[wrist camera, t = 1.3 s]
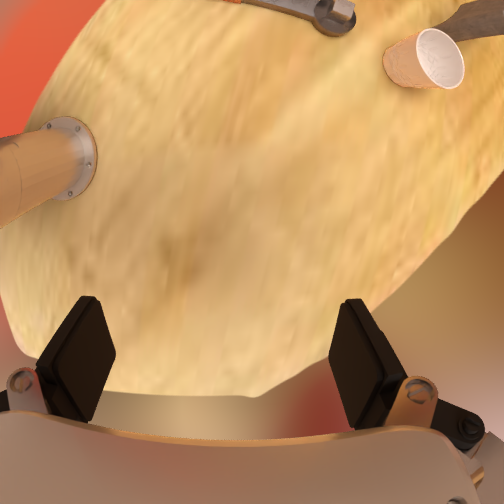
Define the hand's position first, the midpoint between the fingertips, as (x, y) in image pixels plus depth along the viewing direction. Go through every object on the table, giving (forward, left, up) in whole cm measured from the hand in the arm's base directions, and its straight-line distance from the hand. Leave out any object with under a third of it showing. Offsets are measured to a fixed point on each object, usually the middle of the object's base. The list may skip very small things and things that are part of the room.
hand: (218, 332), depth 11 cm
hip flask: (+26, +38, -31) cm, 55 cm away
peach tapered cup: (+18, +24, -31) cm, 43 cm away
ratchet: (-2, +26, -30) cm, 40 cm away
